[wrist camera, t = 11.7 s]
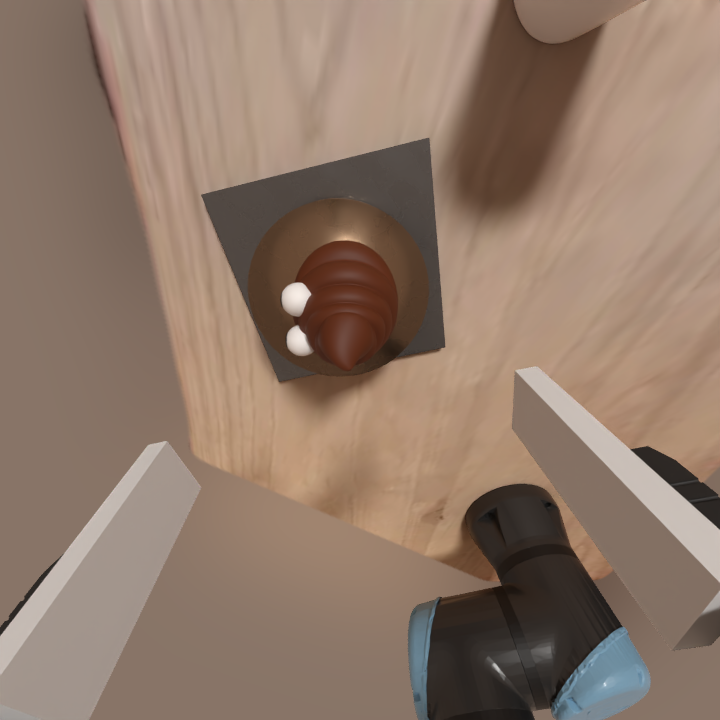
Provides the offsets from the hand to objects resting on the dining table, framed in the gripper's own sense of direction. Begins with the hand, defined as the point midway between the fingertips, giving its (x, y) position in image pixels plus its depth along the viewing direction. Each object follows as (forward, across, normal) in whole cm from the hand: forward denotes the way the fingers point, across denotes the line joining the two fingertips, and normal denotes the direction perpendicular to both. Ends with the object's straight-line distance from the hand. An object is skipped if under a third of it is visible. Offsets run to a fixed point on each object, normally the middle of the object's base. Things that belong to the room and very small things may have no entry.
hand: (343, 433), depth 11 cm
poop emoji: (+16, 0, 0) cm, 16 cm away
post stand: (+23, 0, 0) cm, 23 cm away
